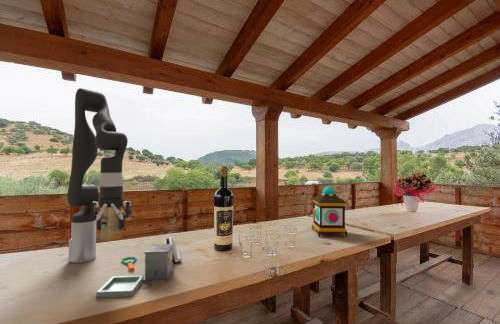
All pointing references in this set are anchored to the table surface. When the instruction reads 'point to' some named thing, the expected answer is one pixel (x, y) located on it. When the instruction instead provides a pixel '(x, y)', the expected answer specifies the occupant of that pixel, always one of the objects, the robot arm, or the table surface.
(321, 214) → the decorative lantern
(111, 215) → the shoe polish box
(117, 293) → the tray
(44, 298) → the table surface
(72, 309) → the table surface
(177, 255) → the white piece
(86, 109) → the robot arm
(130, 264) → the magnifying glass
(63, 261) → the table surface
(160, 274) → the box
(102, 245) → the table surface
